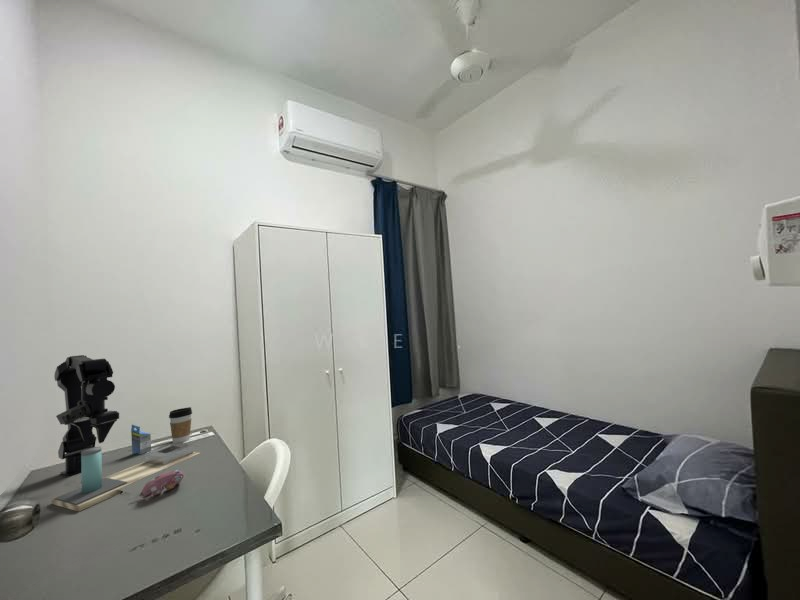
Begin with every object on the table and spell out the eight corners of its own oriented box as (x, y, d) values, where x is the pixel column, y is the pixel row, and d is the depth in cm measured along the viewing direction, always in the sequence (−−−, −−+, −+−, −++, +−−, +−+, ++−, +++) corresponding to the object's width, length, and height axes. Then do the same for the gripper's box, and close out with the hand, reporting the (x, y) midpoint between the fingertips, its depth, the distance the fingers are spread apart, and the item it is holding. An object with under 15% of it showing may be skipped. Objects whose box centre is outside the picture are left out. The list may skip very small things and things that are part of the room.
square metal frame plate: (144, 462, 112) (144, 454, 113) (175, 450, 122) (175, 442, 123) (163, 465, 108) (163, 457, 109) (193, 452, 119) (193, 444, 119)
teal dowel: (85, 488, 95) (84, 449, 95) (104, 484, 97) (103, 445, 98) (78, 495, 91) (78, 453, 92) (98, 490, 93) (98, 449, 94)
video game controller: (143, 506, 89) (146, 486, 87) (139, 494, 91) (142, 475, 90) (183, 489, 97) (186, 471, 95) (178, 479, 99) (181, 461, 98)
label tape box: (152, 454, 124) (151, 423, 125) (139, 458, 121) (139, 426, 122) (143, 451, 129) (142, 421, 130) (130, 454, 125) (130, 424, 126)
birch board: (51, 503, 91) (51, 498, 91) (175, 453, 123) (174, 449, 123) (79, 511, 85) (79, 506, 85) (200, 456, 118) (200, 452, 118)
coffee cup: (184, 447, 130) (183, 411, 131) (164, 448, 130) (163, 412, 131) (197, 439, 138) (196, 405, 139) (178, 440, 138) (178, 407, 139)
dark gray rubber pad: (54, 499, 90) (54, 497, 90) (105, 478, 101) (105, 477, 101) (76, 505, 86) (76, 503, 86) (127, 483, 97) (127, 481, 97)
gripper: (46, 401, 102) (45, 449, 101) (76, 402, 95) (76, 454, 94) (89, 393, 112) (90, 436, 111) (120, 394, 105) (120, 440, 104)
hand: (93, 441), depth 105 cm, fingers open, 9 cm apart
